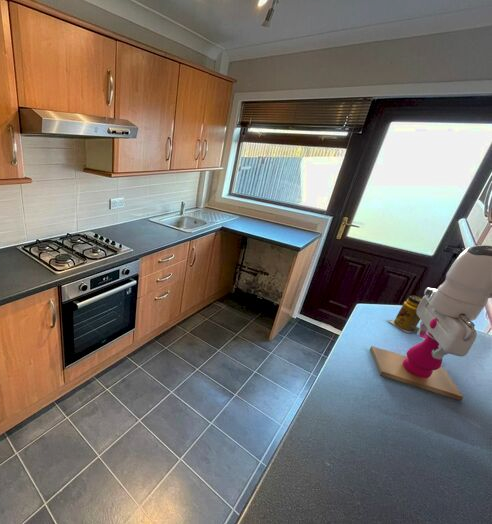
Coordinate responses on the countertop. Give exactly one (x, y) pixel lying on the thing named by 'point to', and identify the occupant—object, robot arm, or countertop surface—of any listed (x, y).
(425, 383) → the chopping board
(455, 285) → the robot arm
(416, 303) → the condiment
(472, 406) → the countertop surface
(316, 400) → the countertop surface
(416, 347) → the pepper mill
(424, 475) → the countertop surface
